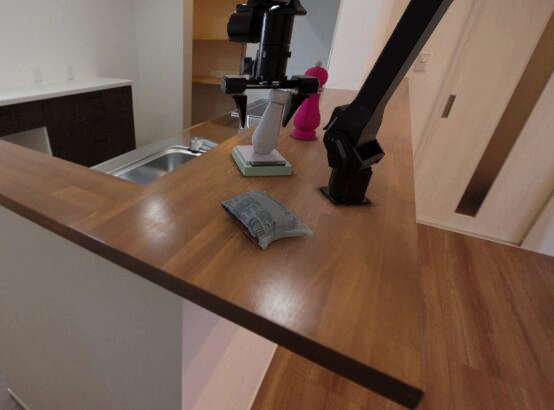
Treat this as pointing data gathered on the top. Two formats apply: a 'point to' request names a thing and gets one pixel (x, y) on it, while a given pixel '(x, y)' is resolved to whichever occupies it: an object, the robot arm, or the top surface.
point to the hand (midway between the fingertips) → (263, 127)
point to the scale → (260, 162)
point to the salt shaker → (270, 123)
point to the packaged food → (264, 218)
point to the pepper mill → (310, 107)
